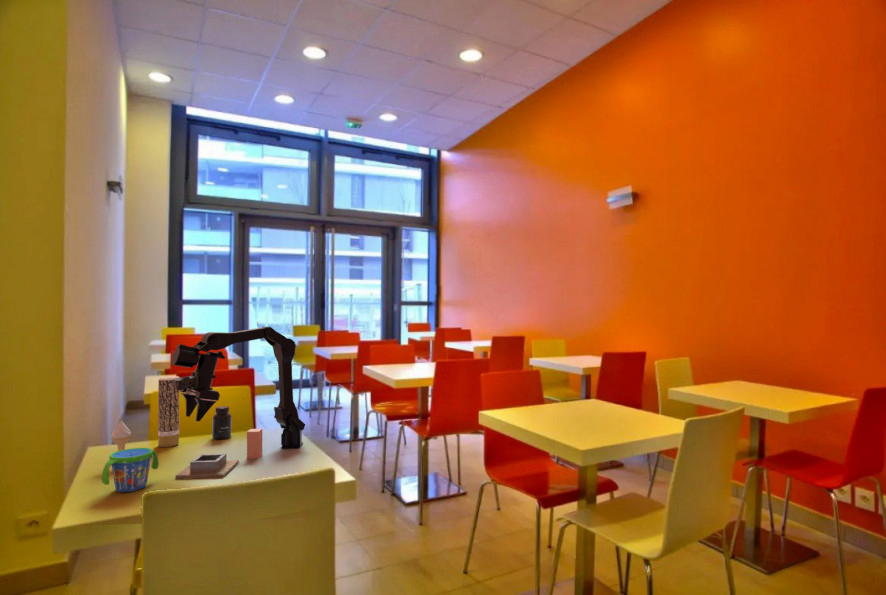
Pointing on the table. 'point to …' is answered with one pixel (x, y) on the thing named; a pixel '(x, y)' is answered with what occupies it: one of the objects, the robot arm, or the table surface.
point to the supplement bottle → (221, 423)
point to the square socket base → (208, 467)
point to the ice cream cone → (121, 435)
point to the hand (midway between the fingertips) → (192, 418)
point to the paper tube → (168, 412)
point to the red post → (254, 443)
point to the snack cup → (130, 468)
